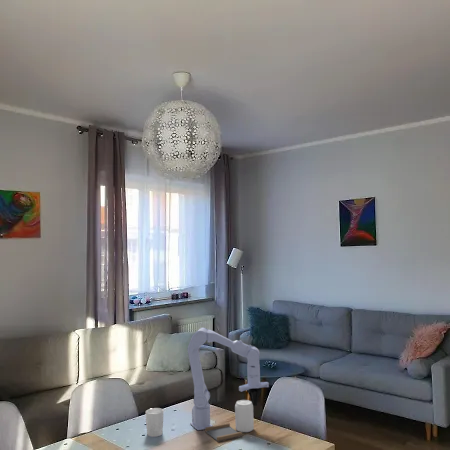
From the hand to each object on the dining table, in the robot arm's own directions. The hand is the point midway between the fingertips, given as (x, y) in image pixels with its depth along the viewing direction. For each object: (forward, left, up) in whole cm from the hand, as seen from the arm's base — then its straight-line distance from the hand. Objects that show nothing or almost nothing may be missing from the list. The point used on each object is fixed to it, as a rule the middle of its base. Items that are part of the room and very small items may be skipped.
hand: (254, 405), depth 209 cm
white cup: (-15, -42, -10) cm, 46 cm away
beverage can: (0, -5, -10) cm, 11 cm away
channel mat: (0, -16, -10) cm, 19 cm away
